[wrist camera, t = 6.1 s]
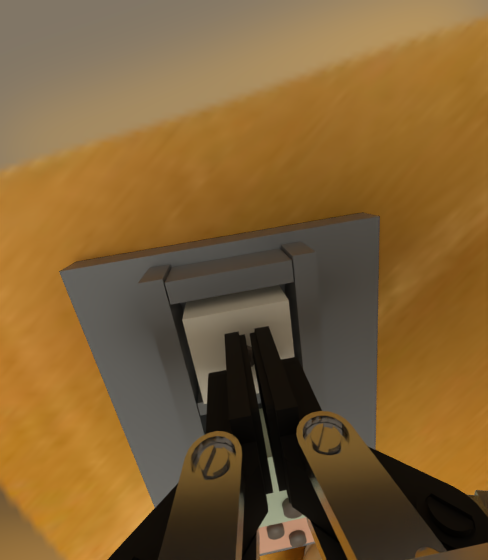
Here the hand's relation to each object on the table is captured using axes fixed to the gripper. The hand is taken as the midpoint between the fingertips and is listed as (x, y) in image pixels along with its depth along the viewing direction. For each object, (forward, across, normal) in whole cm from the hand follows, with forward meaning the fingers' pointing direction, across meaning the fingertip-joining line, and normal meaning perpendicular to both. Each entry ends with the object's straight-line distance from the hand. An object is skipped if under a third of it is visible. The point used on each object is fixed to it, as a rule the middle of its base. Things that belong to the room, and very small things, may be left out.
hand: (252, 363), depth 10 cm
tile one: (+3, 0, 0) cm, 3 cm away
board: (+5, 0, +6) cm, 7 cm away
